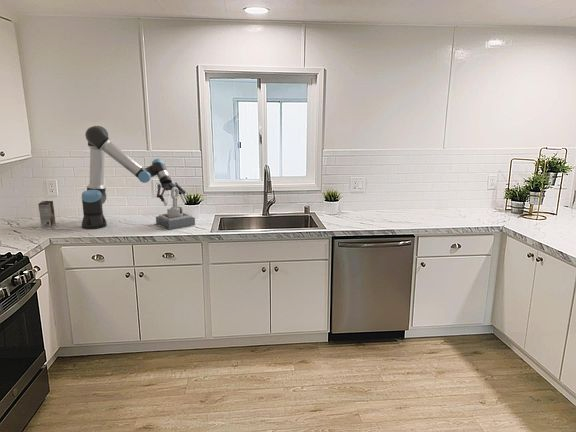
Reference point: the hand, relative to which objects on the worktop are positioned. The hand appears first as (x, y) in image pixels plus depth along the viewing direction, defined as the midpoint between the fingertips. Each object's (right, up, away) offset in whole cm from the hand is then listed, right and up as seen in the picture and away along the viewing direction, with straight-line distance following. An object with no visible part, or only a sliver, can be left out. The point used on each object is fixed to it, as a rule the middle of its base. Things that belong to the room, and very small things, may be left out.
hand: (175, 203), depth 286 cm
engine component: (-1, -9, +4) cm, 10 cm away
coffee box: (-83, -15, -4) cm, 84 cm away
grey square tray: (-1, -14, +5) cm, 15 cm away
